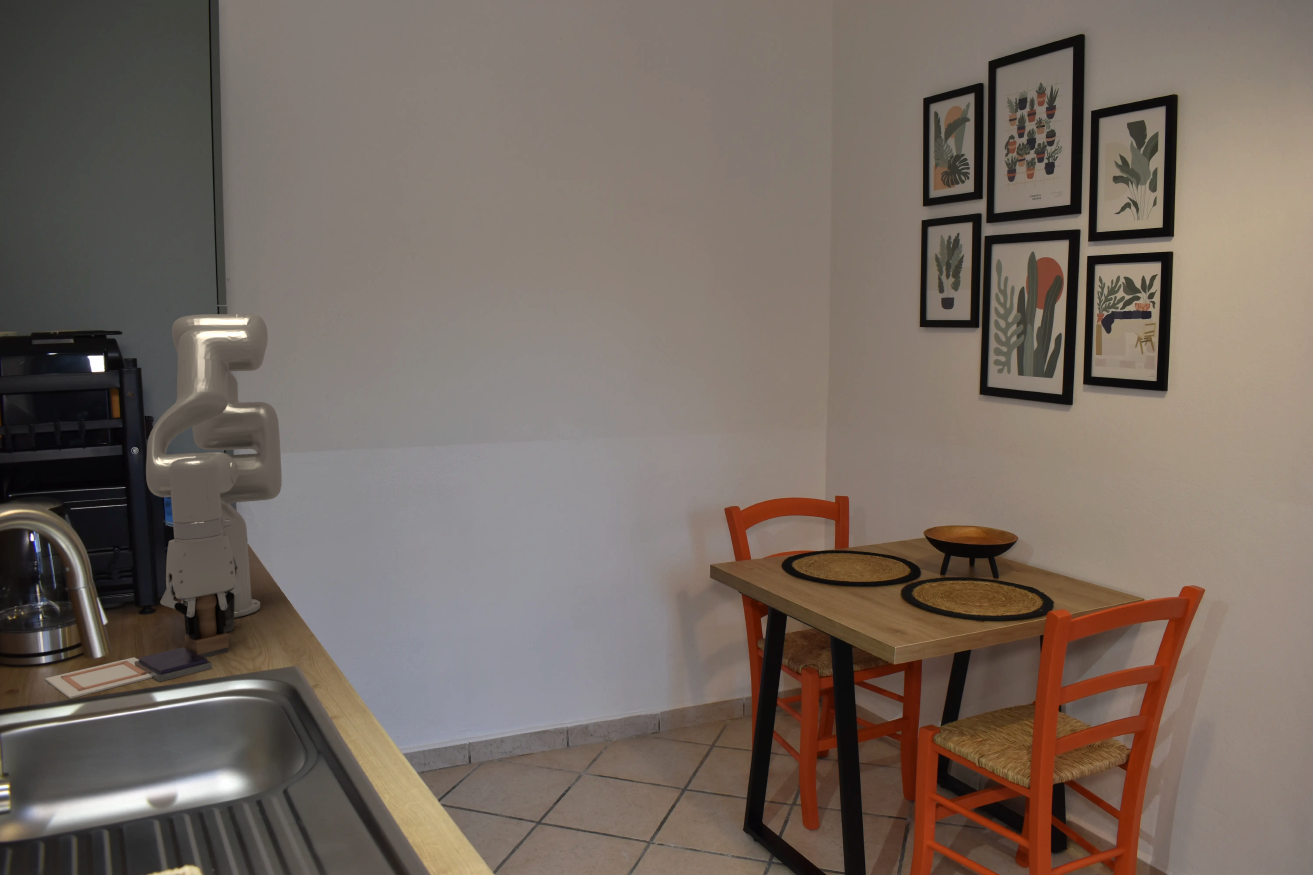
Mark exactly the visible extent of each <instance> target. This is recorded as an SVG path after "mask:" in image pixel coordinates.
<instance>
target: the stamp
mask: <svg viewBox="0 0 1313 875" xmlns="http://www.w3.org/2000/svg"><path fill="white" fill-rule="evenodd" d="M216 603H217V598H216V596H215V594H213V595H208V596H203V597H198V598H196V599H195V616H198V621H199V635H200V638H199V639H196V640H195V639H193V638H190V637H189V635H184V645H185V647H184V648H186V649H188V650H190V651H192V652H194V653H196V654H198V655H200V656H202V657H204V658H206V659H207V658H209V657H213V656H217V655H222V654H224V653H229V652H230V646H229V645H230V644H229V643H230V642H229V634H227V633H226V632H225V633H221V634H220V633H217V623H216V609H215V606H216Z"/></svg>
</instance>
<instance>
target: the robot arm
mask: <svg viewBox="0 0 1313 875" xmlns="http://www.w3.org/2000/svg"><path fill="white" fill-rule="evenodd" d="M171 326H172V327H171V336H172V341H173V345H174V348H175V351H176V353H177V372H176V375H177V378H176V379H177V381H176V401H175V403H174V404H172V405H171V406H170V407H169V408H168V409H167V410H166V411H164V413H163V414H162V415H161V416H160V417H159V418H158V420H157V421H156V423H155V424H154V426H153V427H152V430H151V431H150V434H149V436H148V440H147V444H146V446H147V448H146V462H145V476H146V478H145V479H146V484H147V487H148V488H147V489H149V491H150V492H151V493H152V494H153V495H154V496H157V497H159V498H170V499H171V501H170V502H171V513H172V515H171V516H172V523H173V524H172V526H173V537H174V538H173V539H171V540H169V541H168V545H167V552H166V553H167V554H166V563H165V564H166V566H165V567H166V568H165V571H166V573H165V582H166V583H165V584H166V589H165V591H164V593H163V595H162V597H161V599H160V602H159V603H160V605H163V606H164V607H167V608H170V609H173V610H176V611H177V612H179V613H180V614H182V615H183V617H184V629H185V630H184V631H185V634H186V636H188V635H189V637H190V638H193V639H195V640H196V639H199V638H200V635H199V621H198V616H195V599H196V598H198V597H203V596H208V595H213V594H215V596H216V598H217V603H216V606H215V609H216V623H217V633H220V634H221V633H224V627H225V626H226V622H225V609H227V605H228V604H229V603H230V601H231V600H232V599H233V598H234V596H235V604H234V619H235V618H240V617H244V616H248V615H250V614H253V613H255V612H257V611H259V610H260V609H261V602H260V600H257V599H255V598H254V599H253V598H252V588H251V573H250V558H249V546H248V545H249V542H248V534H247V533H248V529H247V528H248V527H247V523H246V521H245V519H244V517H243V516H242V515H241V514H240V513H239V512H238V511H237V510H236V509H235V508H234V507H233V505H231V504H235V503H244V502H245V503H247V502H258V501H269V500H272V499H276V498H277V497H278V496H279V495H280V492H281V490H282V484H283V479H282V458H281V437H280V436H281V435H280V425H279V418H278V414H277V411H276V409H275V408H274V407H273V406H272V405H271V404H270V403H268V402H267V403H266V402H264V401H263V402H262V401H251V402H250V401H247V402H246V401H245V402H244V401H243V402H240V401H239V394H238V392H239V390H238V389H239V388H238V387H239V386H238V385H239V384H238V380H237V379H236V376H234V374H233V373H232V372H249V371H250V372H251V371H253V372H254V371H256V370H258V369H260V368H261V367H262V364H263V362H264V360H265V356H266V354H265V353H266V350H267V346H268V329H267V325H266V323H265V321H264V319H263V317H261V316H260V315H257V314H252V313H233V314H232V313H230V314H229V313H228V314H226V313H224V314H223V313H218V314H217V313H216V314H215V313H213V314H212V313H211V314H209V313H208V314H207V313H206V314H205V313H203V314H191V315H185V316H181V317H179V318H177V319H176V320H175V321H174V322H173V323H172V325H171ZM191 428H192V429H191ZM188 429H191V430H192V436H193V440H194V443H195V445H196V446H197V447H198V448H199V449H200V450H201V449H202V450H205V451H210V452H189V453H172V454H167V450H168V448H169V446H170V444H171V443H172V441H174V439H175V438H177V437H178V435H180V434H182V433H183V432H185V431H187V430H188ZM232 450H233V451H234V450H236V451H237V450H254V451H255V452H256V453H246V454H245V453H244V454H228V453H225V452H221V451H232ZM212 451H214V452H212ZM217 451H218V452H217ZM219 451H220V452H219ZM233 557H234V559H235V561H236V565H237V569H236V575H235V567H234V561H233ZM174 597H176V599H178V600H181V602H180V601H176V600H175V599H174Z"/></svg>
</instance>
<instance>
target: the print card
mask: <svg viewBox="0 0 1313 875" xmlns="http://www.w3.org/2000/svg"><path fill="white" fill-rule="evenodd" d="M135 661H139V658H136V657H130V658H126V659H122V660H116V661H113V662H109V663H105V664H101V665H97V666H92V667H87V668H84V669H80V670H79V669H77V670H75V671H71V672H66V673H62V674H58V675H54V676H50V677H45V678H44V679H45V681H46V682H47V683H49V684H50V685H51V687H54V688H55V689H56V690H57V691H59V692H60V693H62V694H63V695H64V696H65V697H67V698H68V699H75V698H78V697H83V696H86V695H90V694H95V693H98V692H102V691H105V690H106V691H107V690H110V689H115V688H118V687H121V686H125V685H129V684H134V683H138V682H141V681H145V680H149V679H154V678H153V677H152V675H150V674H148V673H147V672H145V671H143V670H141V669H140V668H138V667H136V666H135Z"/></svg>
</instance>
